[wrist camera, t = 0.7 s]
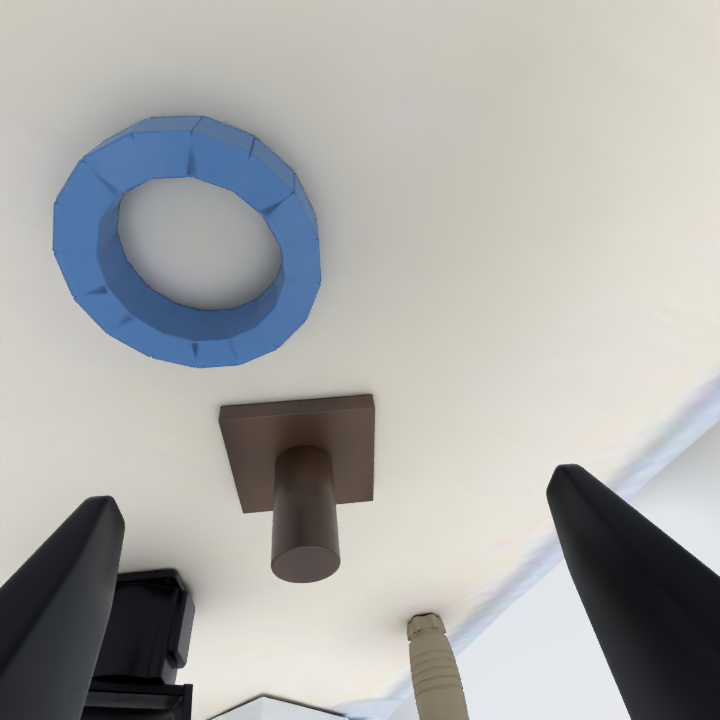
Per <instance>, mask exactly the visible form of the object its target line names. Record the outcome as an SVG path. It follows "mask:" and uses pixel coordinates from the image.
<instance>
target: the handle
mask: <svg viewBox="0 0 720 720" xmlns="http://www.w3.org/2000/svg"><path fill="white" fill-rule="evenodd" d="M444 633H446V630H445V627H444V624H443V622H442V620H441V618H440V617H435V615H434V614H428V615H425V616H416V617H414V618H413V619H412V622H411V623H409V624H408V626H407V635H408V641H411V642H410V644H409V654H410V664H411V665H410V666H411V672H412V674H411V675H412V681H413V688H414V694H415V699H416V705H417V709H418V713H419V718H420V720H469V717H468V712H467V706H466V701H465V696H464V692H463V687H462V683H461V678H460V675H459V672H458V667H457V665H456V661H455V658H454V656H453V652H452V649H451V646H450V644H449V641H448V639H447V637H446V636H445V635H444Z"/></svg>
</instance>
